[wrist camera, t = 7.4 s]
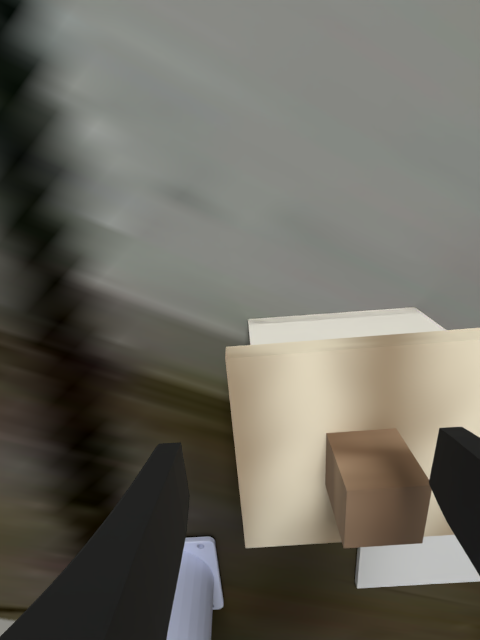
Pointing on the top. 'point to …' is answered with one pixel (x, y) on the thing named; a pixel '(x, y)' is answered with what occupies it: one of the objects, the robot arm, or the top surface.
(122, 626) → the robot arm
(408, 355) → the lid
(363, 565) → the mat
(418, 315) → the white box
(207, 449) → the top surface
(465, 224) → the top surface
